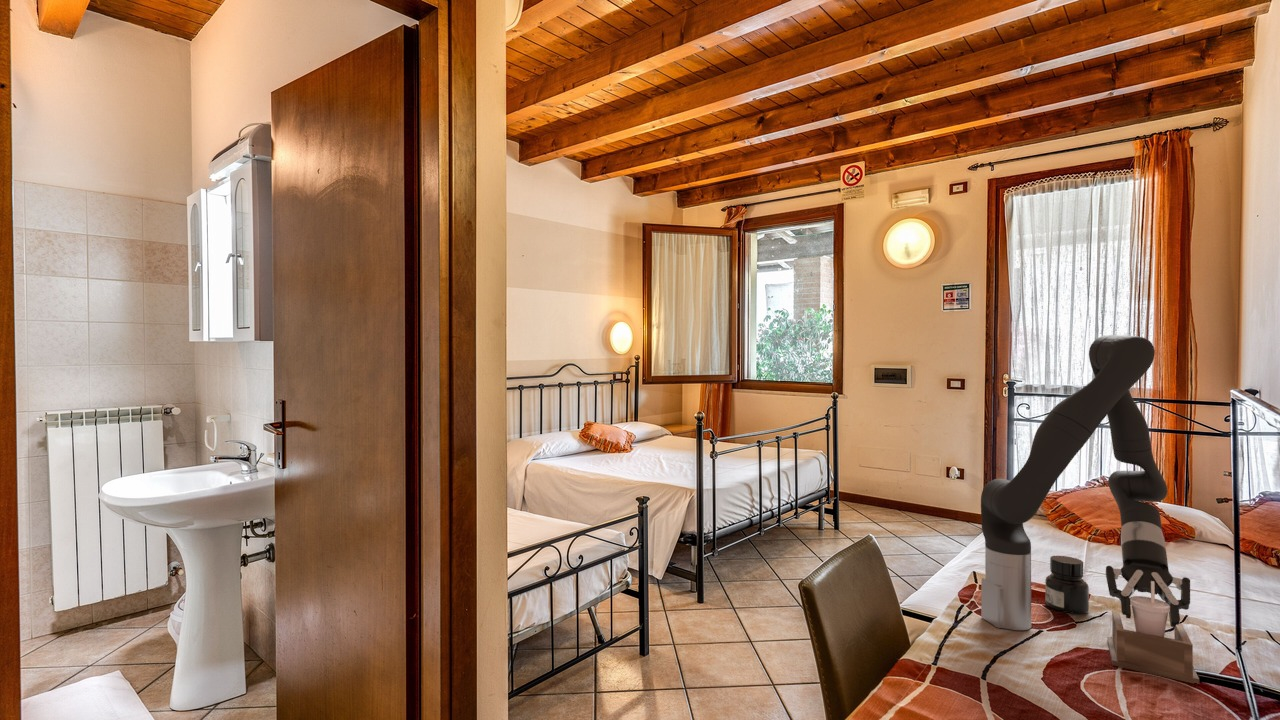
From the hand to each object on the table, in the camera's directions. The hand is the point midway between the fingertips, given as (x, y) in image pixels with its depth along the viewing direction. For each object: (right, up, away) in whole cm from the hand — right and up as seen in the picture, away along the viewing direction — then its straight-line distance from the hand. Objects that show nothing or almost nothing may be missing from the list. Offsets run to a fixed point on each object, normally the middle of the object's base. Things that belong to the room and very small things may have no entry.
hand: (1150, 620), depth 122 cm
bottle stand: (+1, -9, +1) cm, 9 cm away
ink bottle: (+3, -9, +28) cm, 30 cm away
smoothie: (+1, -7, +1) cm, 7 cm away
